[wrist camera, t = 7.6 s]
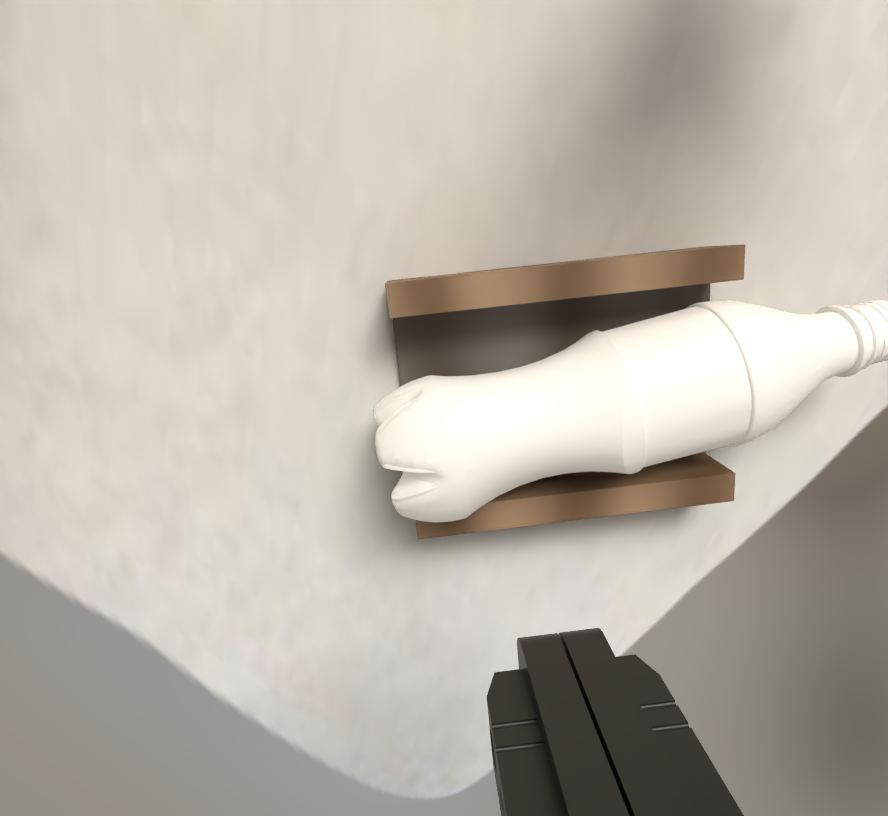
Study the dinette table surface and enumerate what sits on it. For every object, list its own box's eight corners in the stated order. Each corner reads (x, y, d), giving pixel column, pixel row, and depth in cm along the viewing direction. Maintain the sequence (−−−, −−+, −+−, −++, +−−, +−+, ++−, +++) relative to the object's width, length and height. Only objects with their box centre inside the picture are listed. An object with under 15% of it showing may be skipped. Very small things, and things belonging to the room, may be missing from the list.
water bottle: (413, 539, 29) (869, 418, 29) (387, 527, 22) (985, 368, 22) (385, 416, 31) (808, 302, 31) (354, 370, 24) (895, 223, 24)
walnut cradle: (417, 509, 32) (417, 539, 29) (388, 280, 28) (385, 283, 25) (700, 475, 32) (733, 500, 29) (706, 246, 29) (745, 244, 25)
